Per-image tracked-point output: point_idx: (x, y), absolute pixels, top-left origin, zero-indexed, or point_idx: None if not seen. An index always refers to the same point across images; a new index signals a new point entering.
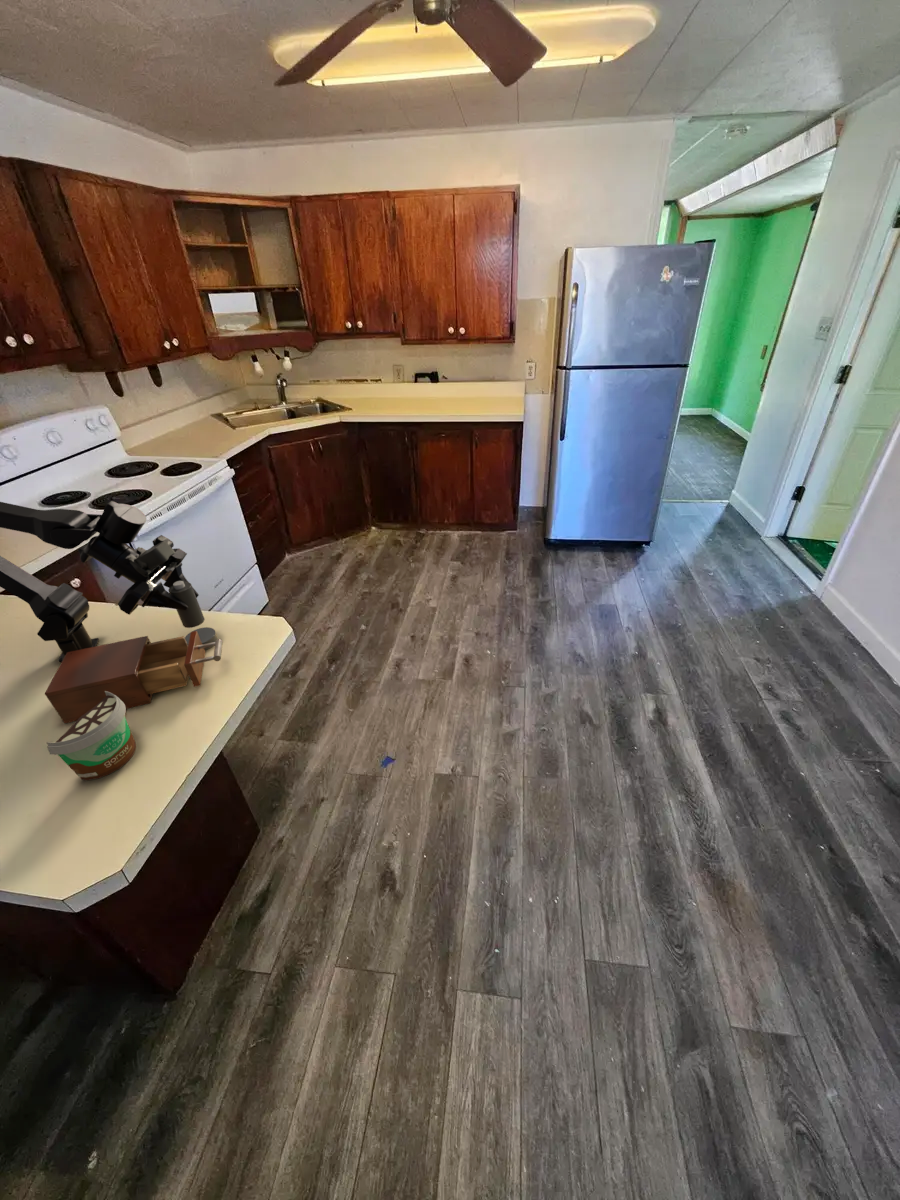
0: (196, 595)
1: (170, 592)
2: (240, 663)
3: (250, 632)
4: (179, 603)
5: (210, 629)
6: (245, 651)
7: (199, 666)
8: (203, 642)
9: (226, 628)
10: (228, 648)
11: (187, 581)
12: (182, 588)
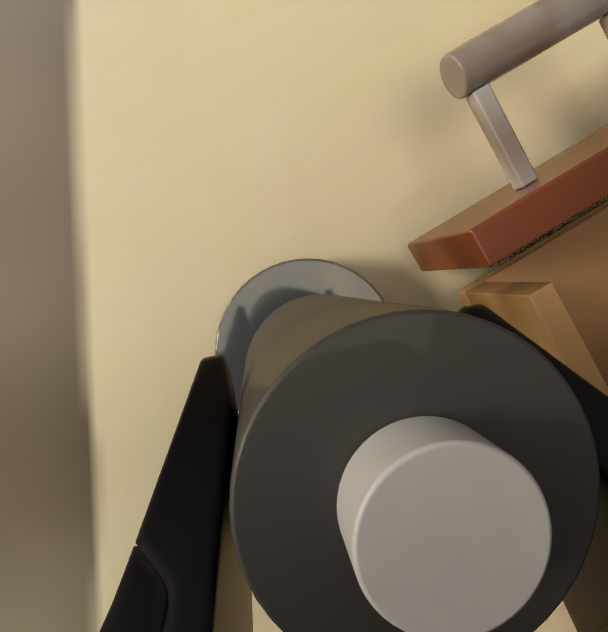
0: (228, 368)
1: (585, 545)
2: (435, 12)
3: (160, 111)
4: (553, 361)
5: (235, 325)
6: (335, 41)
7: (598, 135)
8: (366, 282)
9: (147, 290)
10: (325, 159)
11: (141, 560)
12: (456, 418)
